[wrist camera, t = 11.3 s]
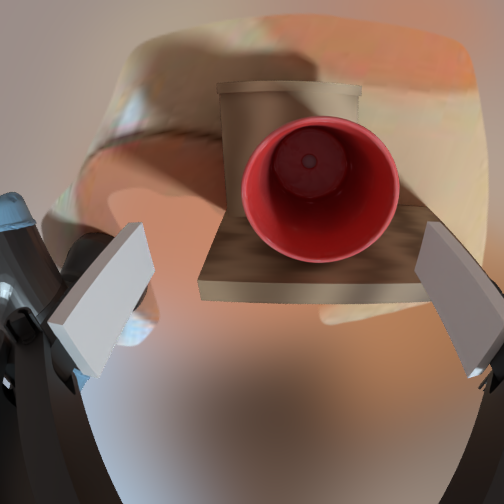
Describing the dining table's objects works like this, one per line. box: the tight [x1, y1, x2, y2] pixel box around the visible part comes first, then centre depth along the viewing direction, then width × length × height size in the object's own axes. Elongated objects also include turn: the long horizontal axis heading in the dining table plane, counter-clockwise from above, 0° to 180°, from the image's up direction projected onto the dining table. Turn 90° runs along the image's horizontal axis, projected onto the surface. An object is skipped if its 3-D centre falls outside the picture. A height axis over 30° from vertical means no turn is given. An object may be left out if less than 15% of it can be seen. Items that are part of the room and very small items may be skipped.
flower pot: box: [241, 116, 399, 263], centre depth 22 cm, size 11×11×10 cm
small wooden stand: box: [217, 81, 362, 217], centre depth 27 cm, size 13×14×6 cm
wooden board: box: [197, 205, 488, 304], centre depth 27 cm, size 26×2×16 cm, turn 92°
